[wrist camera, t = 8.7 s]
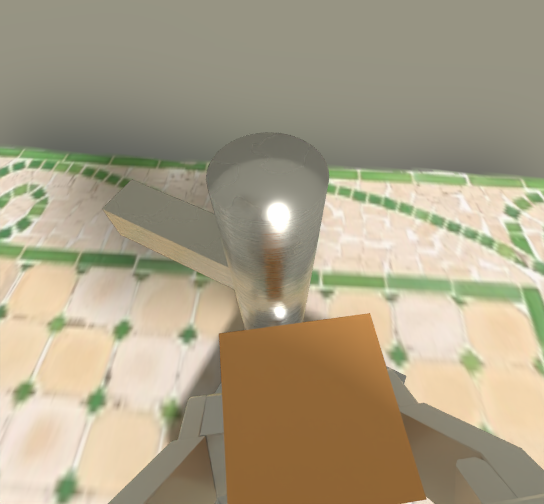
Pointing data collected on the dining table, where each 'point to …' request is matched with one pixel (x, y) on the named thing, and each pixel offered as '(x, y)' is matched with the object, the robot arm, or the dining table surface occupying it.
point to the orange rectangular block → (313, 417)
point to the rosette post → (242, 226)
